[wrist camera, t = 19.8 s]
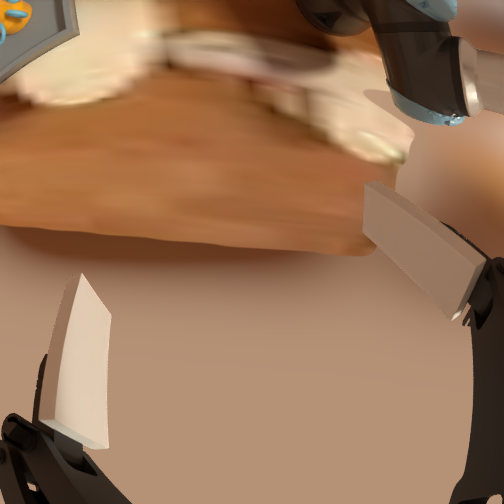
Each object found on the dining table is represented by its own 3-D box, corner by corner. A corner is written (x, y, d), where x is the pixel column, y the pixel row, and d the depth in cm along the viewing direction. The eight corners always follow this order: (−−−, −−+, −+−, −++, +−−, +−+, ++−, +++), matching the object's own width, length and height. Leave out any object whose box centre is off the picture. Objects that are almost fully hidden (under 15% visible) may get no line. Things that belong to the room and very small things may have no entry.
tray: (70, -47, 12) (65, -54, 9) (79, 34, 24) (73, 30, 21) (-22, 13, 9) (-31, 11, 7) (-14, 95, 22) (-24, 97, 19)
